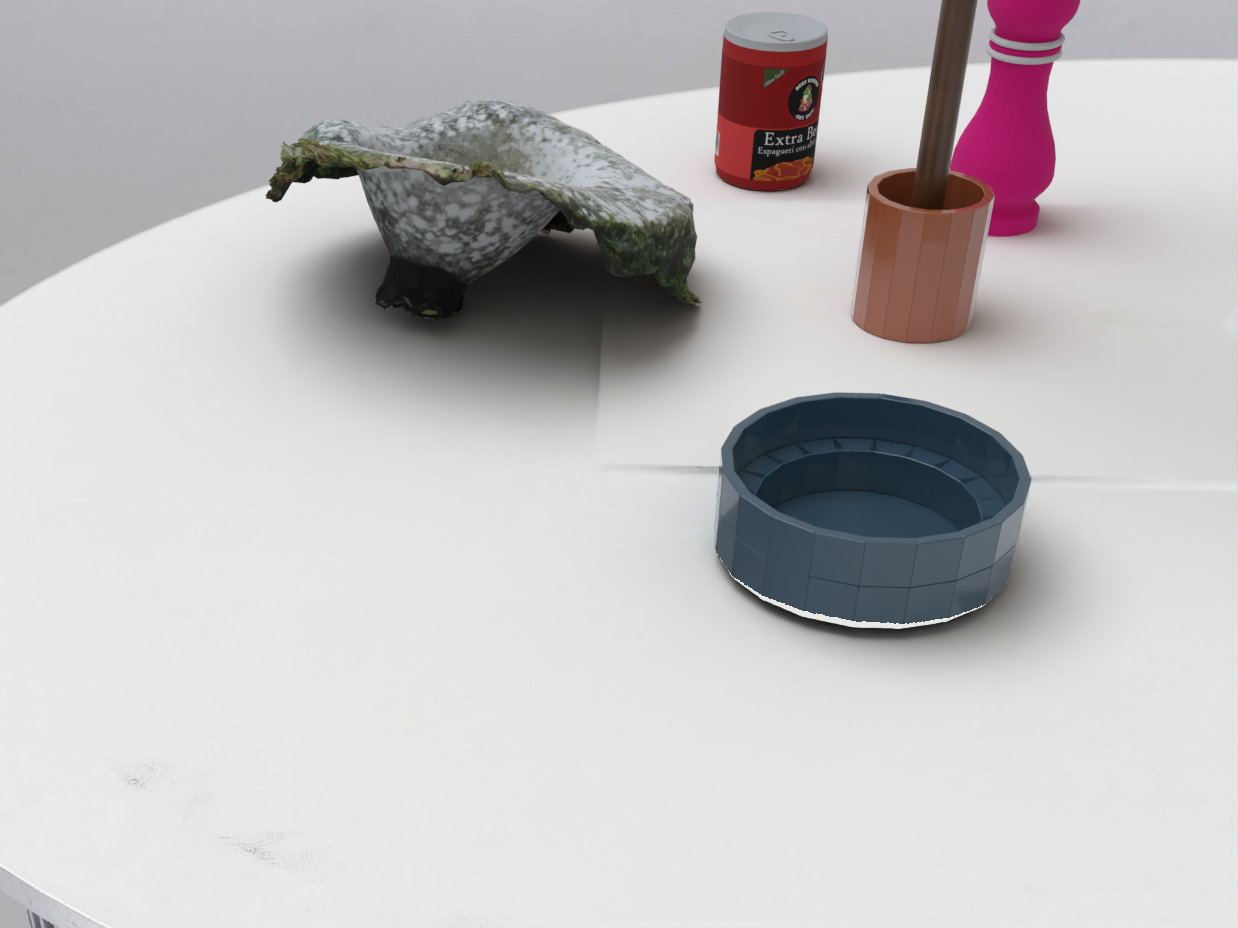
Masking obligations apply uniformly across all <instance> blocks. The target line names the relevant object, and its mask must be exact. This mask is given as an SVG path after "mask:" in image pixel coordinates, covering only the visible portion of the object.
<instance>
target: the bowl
mask: <svg viewBox="0 0 1238 928" xmlns="http://www.w3.org/2000/svg"><path fill="white" fill-rule="evenodd" d="M1031 484H1032V476H1031V473H1030V471H1029V468H1028V466H1027V463H1026V460H1025V457H1024V455H1023V454H1022V452H1020V451H1019V450H1018V449H1017V448H1016V446H1014V445H1013V444H1012V442H1010V441H1009V439H1007V438H1006V437H1005V436H1004V435H1003V434H1002V433H1000V431H998V430H996V429H994V428H992V427H991V426H989V425H987V424H985V423H983V422H982V421H980V420H978V419H976V418H975V417H973V416H971V415H969V414H966V413H964V412H961V411H958V410H955V409H952V408H950V407H946V406H943V405H941V404H938V403H937V404H936V403H935V402H932V401H928V400H924V399H918V398H913V397H912V398H911V397H905V396H900V395H893V394H887V393H880V392H879V393H877V392H842V391H841V392H840V391H839V392H838V391H837V392H836V391H835V392H828V393H827V392H825V393H819V394H811V395H803V396H796V397H792V398H790V399H787V400H783V401H780V402H777V403H774V404H771V405H768V406H765V407H762V408H759V409H757V410H756V411H755V412H753V413H752V414H750V415H749V416H747V417H745V418H744V419H742V420H741V421H740V422H738V423H737V424H735V425H734V426H733V427H732V429H731V431H730V432H729V434H728V436H727V437H726V439H725V440H724V442H723V444H722V445H721V448H720V454H719V468H718V478H717V491H716V502H715V503H716V504H715V514H714V524H713V535H714V549H715V551H716V552H715V554H716V553H717V554H718V556H719V557H718V556H717V557H718V559H719V558H721V560H722V561H723V563H724V565H725V566H726V567H727V569H728V570H729V572H730V573H731V575H732V576H733V577H734V578H736V579H738V580H740V582H743V583H744V585H746V586H747V585H748V587H750V588H752V589H753V590H754V591H756V592H758V593H759V594H761V595H762V596H765V597H768V598H769V599H773V600H776V601H777V602H781V603H785V605H789V606H792V607H794V608H797V609H799V610H802V611H808V612H810V613H813V614H816V613H817V614H823V615H825V616H829V617H838V618H841V619H846V620H851V621H856V622H862V621H866V622H880V623H887V622H889V623H894V624H896V623H899V624H905V623H907V624H909V623H913V622H915V623H917V622H922V621H923V622H925V621H930V620H935V619H943V618H950V617H952V616H953V617H954V616H955V615H959V614H961V613H963V612H967V611H970V610H972V609H974V608H978V607H980V606H981V605H982V606H983V605H984V604H986V602H988V601H989V600H990V599H991V598H993V597H994V596H995V595H996V594H997V593H998V592H999V591H1000V592H1001V591H1002V590H1004V588H1006V586H1008V581H1009V579H1010V574H1011V571H1012V568H1013V564H1014V560H1015V556H1016V552H1017V547H1018V543H1019V539H1020V534H1021V529H1022V524H1023V520H1024V516H1025V511H1026V507H1027V502H1028V498H1029V493H1030V490H1031V489H1030V488H1031ZM717 554H716V555H717ZM721 560H720V561H721ZM723 563H722V564H723ZM724 565H723V566H724ZM725 566H724V567H725ZM727 569H726V570H727ZM1000 592H999V593H1000ZM999 593H998V594H999ZM998 594H997V595H998ZM997 595H996V596H997ZM996 596H995V597H996ZM995 597H994V598H995ZM994 598H993V599H994ZM991 600H992V599H991ZM991 600H990V601H991ZM990 601H989V602H990ZM989 602H988V603H989ZM986 605H987V604H986Z"/></svg>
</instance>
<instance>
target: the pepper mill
mask: <svg viewBox="0 0 1238 928" xmlns="http://www.w3.org/2000/svg"><path fill="white" fill-rule="evenodd" d="M986 5H987V11H988V13H989V16H990V18H991V19H992V21H993V23H994V27H993V28H991V29H990V31H989V32H988V38H989V41H988V44H987V45H986V48H985V50H986V53H987V54H988V55H989V56H990V68H989V76H988V80H987V84H986V87H985V88H986V89H985V91H984V95H983V97H982V100H981V102H980V105H979V106H978V108H977V110H976V112H975V113H974V115H973V116H972V118H971V119H970V121H969V122H968V123H967V125H966V127H965V128H964V130H963V131H962V133H961V134H960V136H959V139H958V141H957V143H956V145H955V147H954V148H953V152H952V158H951V164H950V170H949V171H956V172H960V173H963V174H966V175H969V176H972V177H975V178H977V179H980V180H981V181H983V182H984V183H986V184H987V185H989V186H990V187H991V188H992V191H993V193H994V195H995V198H994V203H993V209H992V214H991V220H990V225H989V231H988V236H987V237H998V238H999V237H1002V238H1004V237H1015V236H1022V235H1026V234H1028V233H1030V232H1032V231H1033V230H1035V229H1036V227H1037V225H1038V221H1039V217H1040V216H1039V215H1040V211H1041V207H1040V204H1039V203H1038V202H1037V200H1036V199H1037V198H1038V197H1039V196H1040V195H1041V194H1043V193H1045V191H1046V190H1047V189H1048V188H1049V187H1050V186H1051V184H1052V182H1053V180H1054V178H1055V171H1056V169H1055V168H1056V164H1057V163H1056V161H1057V155H1056V154H1057V153H1056V143H1055V138H1054V134H1053V129H1052V126H1051V120H1050V114H1049V109H1048V89H1049V82H1050V77H1051V73H1052V70H1053V66H1054V63H1055V61H1057V60H1060V58H1062V56H1063V49H1062V47H1063V44H1064V43H1065V41H1066V37H1065V34H1063V32H1062V30H1063V29H1064V27H1066V26H1067V25H1068V24H1069V23H1070V22H1071V21H1072V20H1073V19H1074V17H1075V16H1076V15H1077V12H1078V10H1079V7H1080V5H1081V0H986Z"/></svg>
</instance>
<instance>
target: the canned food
mask: <svg viewBox="0 0 1238 928" xmlns="http://www.w3.org/2000/svg"><path fill="white" fill-rule="evenodd" d="M828 31H829V28H828V26H827V25H826V24H825V23H823V22H822V21H821V20H818V19H816V18H813V17H811V16H808V15H803V14H798V13H792V12H783V11H758V12H750V13H749V12H748V13H745V14H741V15H738V16H735V17H732V18H730V19H729V20H727V22H725V24H724V30H723V36H722V48H721V60H720V73H719V75H720V76H719V91H718V105H717V117H716V119H717V121H716V133H715V134H716V135H715V145H714V146H715V148H714V166H715V170H716V173H717V176H719V178H720V179H721V180H722V181H724V182H726V183H727V184H729V185H731V186H735V187H738V188H741V189H744V190H745V189H746V190H751V191H763V192H777V191H785V190H790V189H793V188H797V187H799V186H801V185H803V184H804V183H806V182H807V181H808V180H809V178H810V177H811V174H812V171H813V169H814V165H815V156H816V148H817V139H818V132H819V131H818V130H819V121H820V114H821V105H822V95H823V86H824V79H825V69H826V61H827V50H828V41H829V35H828Z"/></svg>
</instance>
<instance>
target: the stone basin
mask: <svg viewBox="0 0 1238 928" xmlns="http://www.w3.org/2000/svg"><path fill="white" fill-rule="evenodd" d="M281 144H282V145H280V148H281V152H280V154H279V156H280V157H279V159H280V161H281V163H280V166H276V169H275V172H273V175H272V176H271V178H270V179H269V180H268V182H269V183H268V184H269V185H268V186H270V187H271V189H268V190H267V192H266V194H265V199H266V200H271V202H273V203H278V202H281V201H282V200H283V198H284V197H285V195H286V194H287V192H288V190H289V188H290V187H291V185H292V184H293V183H297V184H307V183H310V182H311V181H312V180H313V178H315V179H317V180H321V179H328V180H340V179H344V178H345V179H346V178H351V177H357V176H358V178H359V180H360V183H361V186H362V190H363V192H364V196H365V199H366V202H367V204H368V205H367V206H368V207H369V210H370V213H371V215H372V217H373V219H374V220H373V221H374V222H375V225H376V227H377V229H378V231H379V233H380V235H381V238H382V240H383V242H384V245H385V247H386V250H387V252H388V256H389V260H388V266H387V267H386V270H385V274H384V278H383V280H382V282H381V283H380V285H379V286H378V287H377V289H376V290H375V293H374V299H375V300H374V301H375V305H376V306H377V307H379V308H381V309H382V310H389V309H390V308H391V307H392V308H393V309H397V308H403V309H404V311H405V313H408V312H409V313H411V314H412V316H414V317H416V318H420V319H423V320H446V319H450V318H452V317H453V316H454V314H455V313H462V312H463V310H464V306H465V294H466V292H467V291H468V289H469V287H470V285H471V284H472V283H473V282H474V281H476V280H477V279H479V278H481V277H483V276H485V275H486V274H488V273H489V272H491V271H492V270H494V269H496V268H497V267H499V266H500V265H502V264H503V263H504V262H506V261H507V260H509V259H510V258H512V257H513V256H514V255H516V254H517V253H518V252H520V251H521V250H522V249H523V248H524V247H526V246H527V245H528V244H529V243H530V242H531V241H532V240H533V239H534V238H535V237H536V236H537V235H538V234H539V233H541V234H544V235H547V236H549V235H551V231H558V232H562V233H566V234H571V233H572V232H574V231H575V230H577V231H580V230H582V231H584V230H587V229H589V230H590V231H592V232H593V235H594V238H595V241H596V243H597V246H598V249H599V250H600V253H601V256H602V261H603V263H604V267H605V269H606V271H607V273H608V274H610V275H611V276H616V277H623V278H627V277H628V278H629V277H635V276H639V275H651V274H652V275H653V276H654V279H655V281H656V282H657V284H658V285H660V286H661V287H662V288H666V289H667V291H668V293H669V295H672V296H674V297H675V298H676V299H678V300H679V301H680V302H682V303H683V304H691V305H692V304H694V305H698V304H700V305H702V303H703V302H702V301H701V298H699V296H697V295H695V294H694V293H693V292H692V291H690V289H689V287H688V280H687V279H688V276H689V274H690V272H691V269H692V267H693V265H694V263H695V261H696V257H697V256H696V246H697V241H698V235H697V231H696V227H695V226H696V225H695V219H694V203H693V202H692V200H691V198H690V197H689V196H686V195H685V194H684V193H681V192H679V191H677V190H676V189H675V188H673V187H672V186H669V185H666V184H664V183H663V182H662V181H661V180H660V179H658V178H656V177H654V176H653V175H651V174H650V173H648V172H646V171H645V170H644V169H643V168H641V167H639V166H638V165H636V164H635V163H633V162H631V161H630V160H629V159H627V158H626V157H624V156H623V155H621V154H620V153H618V152H615V151H614V150H613V149H612V148H610V147H608V146H607V145H605V144H603V143H601V142H600V141H599V140H598V139H597V138H596V137H595V136H594V135H593V134H592V133H589V132H588V131H585V130H583V129H581V128H578V127H575V126H572V125H571V124H568V123H565V122H563V121H562V120H560V119H558V118H557V117H556V116H554V115H552V114H551V113H549V112H547V111H545V110H542V109H540V108H536V107H534V106H530V105H524V104H520V103H519V102H517V101H513V100H510V99H491V98H490V99H489V98H484V99H476V100H475V99H474V100H473V99H472V100H464V101H463V102H461V103H458V104H456V105H455V106H454V107H453V108H450V109H447V110H444V111H440V112H437V113H433V114H431V115H428V116H424V117H421V118H419V119H416V120H414V121H410V122H409V123H408V124H405V125H403V126H389V125H384V124H378V125H377V124H376V125H374V124H363V123H360V122H357V121H356V122H355V121H352V120H350V119H346V118H340V117H339V118H338V117H337V118H330V119H328V120H321V121H320V122H319V121H318V122H317V123H315V124H313V126H311V127H310V128H309V129H308V130H306V131H304V133H303V135H302V136H301V137H299V138H298V139H297V142H293V143H290V145H288V144H287V143H286V142H285V141H284V140H282V142H281Z"/></svg>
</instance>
